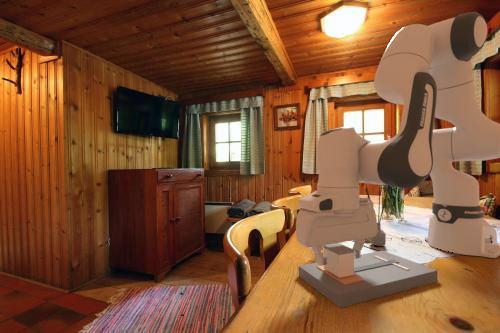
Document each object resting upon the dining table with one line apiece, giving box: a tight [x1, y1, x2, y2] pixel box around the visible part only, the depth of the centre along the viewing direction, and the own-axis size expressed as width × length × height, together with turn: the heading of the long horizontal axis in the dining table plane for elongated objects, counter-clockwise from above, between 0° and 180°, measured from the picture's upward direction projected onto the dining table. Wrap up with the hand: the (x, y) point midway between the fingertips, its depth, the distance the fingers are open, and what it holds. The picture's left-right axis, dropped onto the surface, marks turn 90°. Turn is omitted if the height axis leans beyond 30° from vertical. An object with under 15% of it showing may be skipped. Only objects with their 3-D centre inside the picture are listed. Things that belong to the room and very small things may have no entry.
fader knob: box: [323, 243, 354, 278], centre depth 52 cm, size 4×5×5 cm
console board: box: [297, 250, 439, 309], centre depth 55 cm, size 28×14×3 cm, turn 111°
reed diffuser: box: [365, 185, 389, 247], centre depth 79 cm, size 10×7×20 cm
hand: (339, 260), depth 52 cm, fingers open, 8 cm apart
